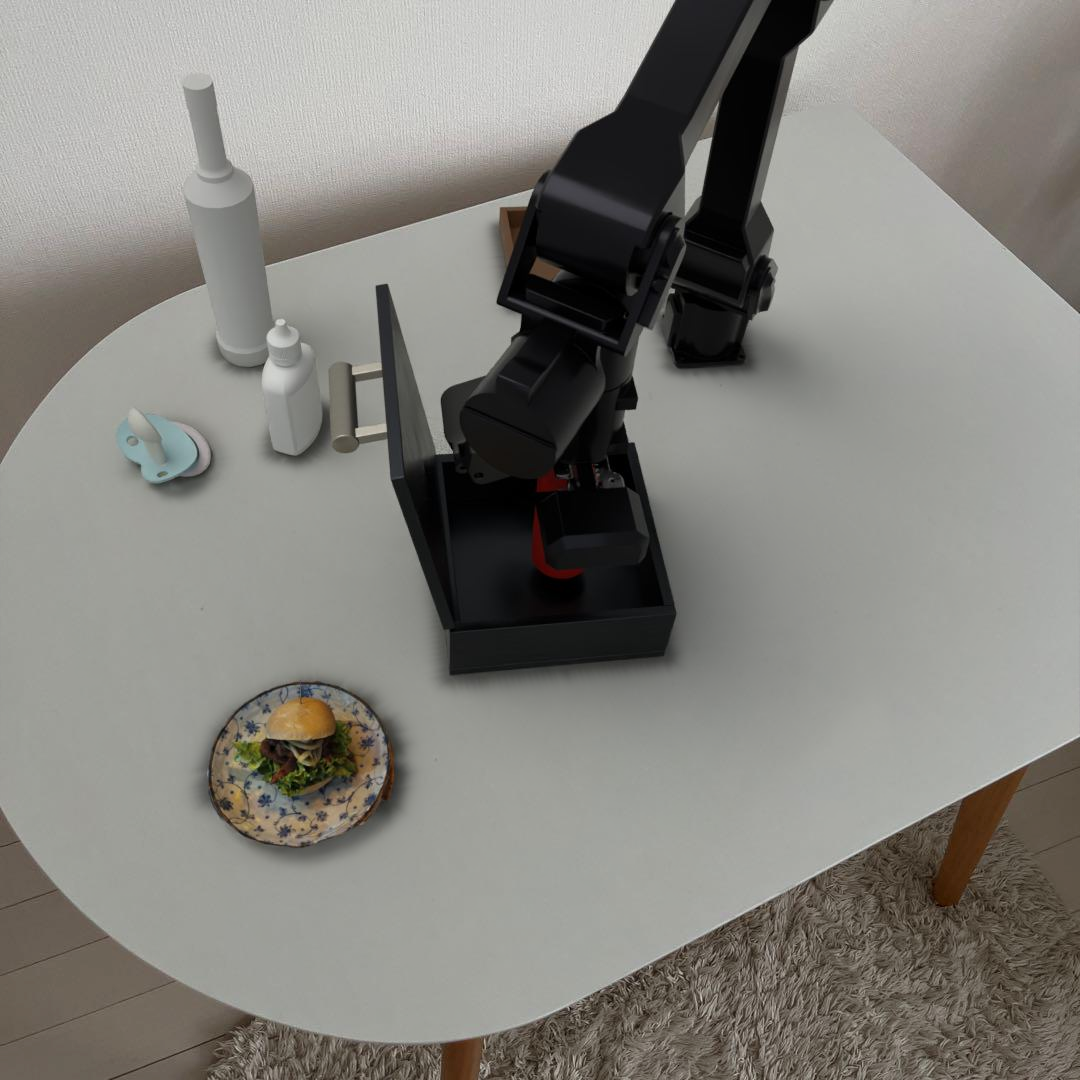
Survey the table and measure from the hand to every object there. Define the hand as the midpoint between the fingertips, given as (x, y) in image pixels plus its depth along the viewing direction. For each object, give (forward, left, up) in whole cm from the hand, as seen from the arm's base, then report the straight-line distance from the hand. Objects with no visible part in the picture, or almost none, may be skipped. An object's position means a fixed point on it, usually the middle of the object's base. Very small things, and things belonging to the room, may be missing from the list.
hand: (563, 517), depth 78 cm
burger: (+19, +14, -7) cm, 25 cm away
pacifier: (+29, -14, -7) cm, 33 cm away
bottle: (+23, -26, -7) cm, 35 cm away
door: (+10, 0, +7) cm, 12 cm away
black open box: (+1, 0, -7) cm, 7 cm away
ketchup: (0, 0, -5) cm, 5 cm away
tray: (-7, -35, -7) cm, 36 cm away
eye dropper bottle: (+19, -16, -7) cm, 26 cm away
